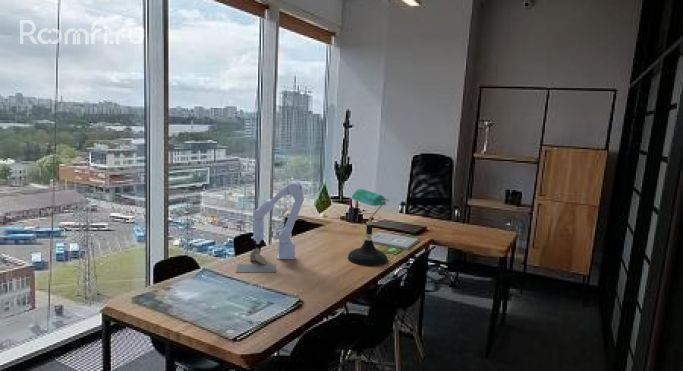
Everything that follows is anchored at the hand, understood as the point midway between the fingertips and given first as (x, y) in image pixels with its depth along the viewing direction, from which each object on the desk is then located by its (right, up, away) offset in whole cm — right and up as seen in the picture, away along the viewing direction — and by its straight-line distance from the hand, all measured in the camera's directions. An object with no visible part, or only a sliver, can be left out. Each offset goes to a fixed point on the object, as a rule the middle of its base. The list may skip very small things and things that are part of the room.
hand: (258, 252), depth 247 cm
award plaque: (+82, 0, +45) cm, 93 cm away
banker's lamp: (+63, -5, +4) cm, 63 cm away
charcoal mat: (+3, -5, -21) cm, 22 cm away
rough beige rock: (+1, -4, -10) cm, 11 cm away
